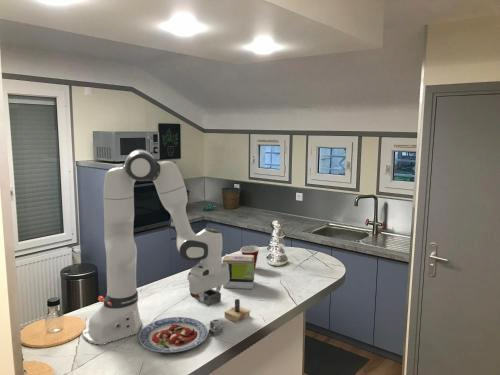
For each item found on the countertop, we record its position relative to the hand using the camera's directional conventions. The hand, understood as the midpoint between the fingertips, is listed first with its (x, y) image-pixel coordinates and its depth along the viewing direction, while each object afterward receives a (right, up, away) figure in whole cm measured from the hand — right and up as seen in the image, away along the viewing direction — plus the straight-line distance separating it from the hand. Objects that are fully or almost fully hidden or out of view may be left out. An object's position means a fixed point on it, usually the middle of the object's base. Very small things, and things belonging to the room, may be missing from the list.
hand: (209, 298), depth 171 cm
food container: (-8, -5, +21) cm, 23 cm away
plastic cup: (+17, +1, +57) cm, 60 cm away
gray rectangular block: (+2, -10, -7) cm, 12 cm away
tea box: (+11, -3, +35) cm, 37 cm away
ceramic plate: (-12, -11, -16) cm, 23 cm away
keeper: (+12, -8, +1) cm, 14 cm away
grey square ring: (0, -2, 0) cm, 2 cm away
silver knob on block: (+4, -10, -12) cm, 17 cm away
